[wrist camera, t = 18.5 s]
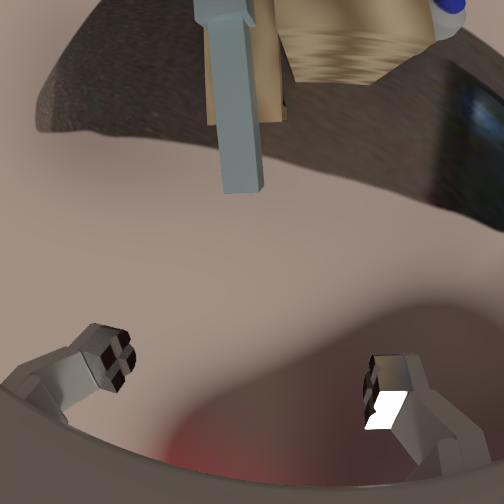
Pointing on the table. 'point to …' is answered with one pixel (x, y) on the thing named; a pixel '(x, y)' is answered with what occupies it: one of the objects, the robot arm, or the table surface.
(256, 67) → the bench
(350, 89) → the table surface
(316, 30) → the tall stand
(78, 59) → the table surface
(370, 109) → the table surface
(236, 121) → the rail
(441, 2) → the bottle
